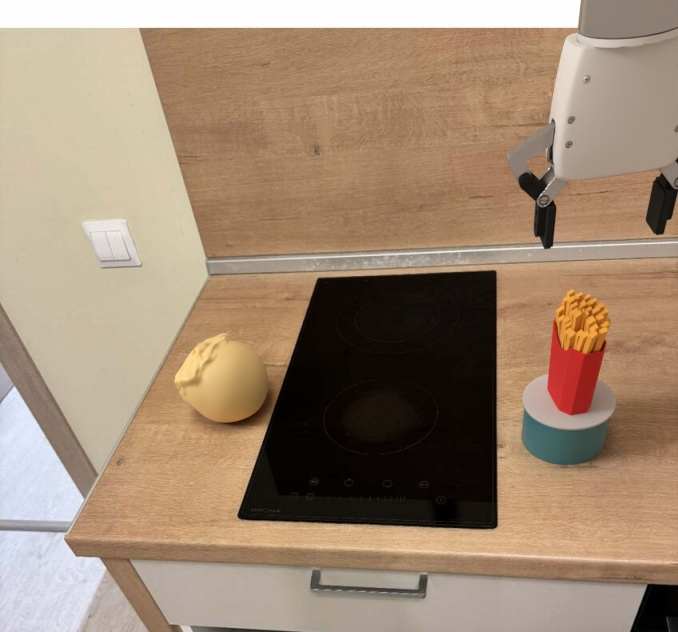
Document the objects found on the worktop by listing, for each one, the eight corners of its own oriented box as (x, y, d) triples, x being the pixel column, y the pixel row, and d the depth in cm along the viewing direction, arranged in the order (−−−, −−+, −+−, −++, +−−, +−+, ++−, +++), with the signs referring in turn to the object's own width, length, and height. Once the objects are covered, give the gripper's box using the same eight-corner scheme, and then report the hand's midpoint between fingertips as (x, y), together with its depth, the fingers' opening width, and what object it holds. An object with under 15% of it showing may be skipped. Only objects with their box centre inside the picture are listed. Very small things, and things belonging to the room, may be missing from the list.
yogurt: (593, 415, 79) (603, 367, 74) (614, 472, 72) (627, 424, 67) (512, 421, 80) (516, 375, 75) (525, 478, 73) (530, 431, 68)
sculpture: (217, 378, 96) (196, 318, 89) (286, 387, 92) (270, 325, 85) (180, 426, 89) (153, 365, 82) (252, 438, 85) (231, 376, 78)
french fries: (540, 379, 74) (551, 288, 65) (573, 373, 74) (588, 282, 65) (565, 424, 68) (581, 332, 59) (601, 418, 68) (622, 324, 59)
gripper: (741, -23, 46) (684, 205, 58) (504, 19, 49) (498, 229, 61) (786, -3, 41) (714, 242, 53) (520, 43, 43) (509, 267, 56)
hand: (599, 235), depth 57 cm, fingers open, 9 cm apart
